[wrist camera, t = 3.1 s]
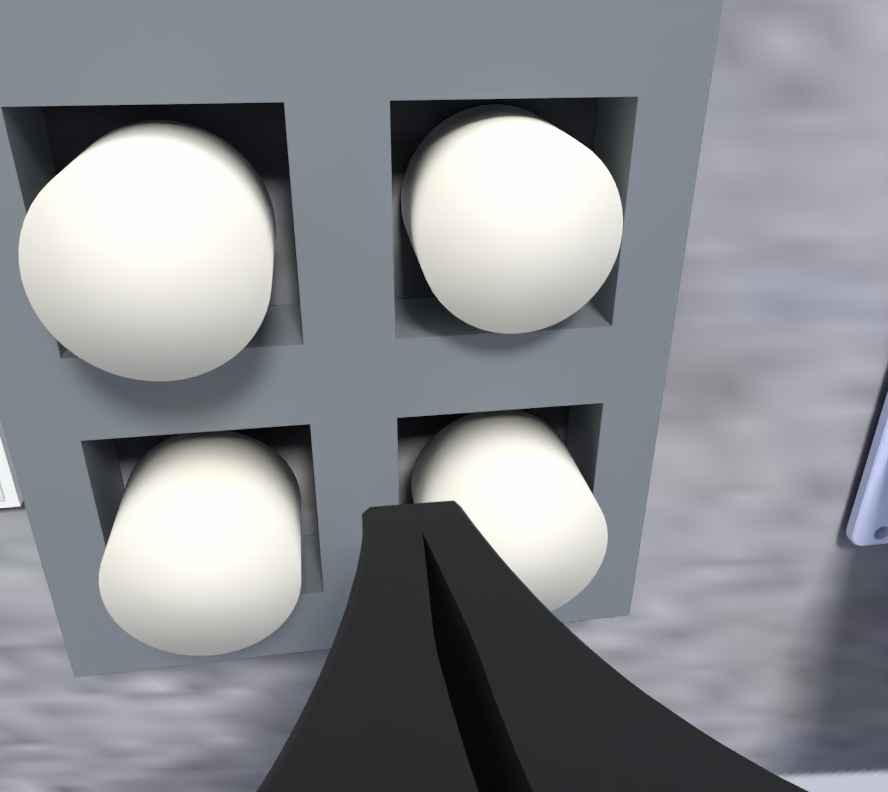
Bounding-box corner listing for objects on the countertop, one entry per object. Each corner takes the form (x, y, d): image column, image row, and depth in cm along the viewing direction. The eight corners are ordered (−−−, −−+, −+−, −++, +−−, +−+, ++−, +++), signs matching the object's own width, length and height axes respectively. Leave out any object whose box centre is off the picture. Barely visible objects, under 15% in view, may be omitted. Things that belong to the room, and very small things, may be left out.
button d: (293, 423, 19) (293, 494, 17) (306, 561, 21) (307, 645, 19) (110, 436, 19) (80, 513, 16) (140, 577, 21) (118, 666, 18)
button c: (575, 402, 20) (617, 467, 18) (563, 536, 22) (598, 612, 20) (410, 414, 20) (427, 483, 17) (411, 550, 22) (427, 631, 19)
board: (674, -18, 18) (725, -15, 16) (601, 560, 25) (629, 615, 23) (-70, -21, 15) (-127, -20, 13) (95, 612, 23) (74, 677, 21)
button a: (585, 102, 18) (634, 125, 16) (570, 280, 20) (611, 328, 18) (399, 106, 18) (417, 131, 15) (402, 288, 20) (419, 339, 17)
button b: (265, 117, 16) (259, 148, 13) (283, 314, 18) (281, 373, 15) (41, 121, 15) (-10, 154, 13) (85, 324, 17) (48, 388, 15)
